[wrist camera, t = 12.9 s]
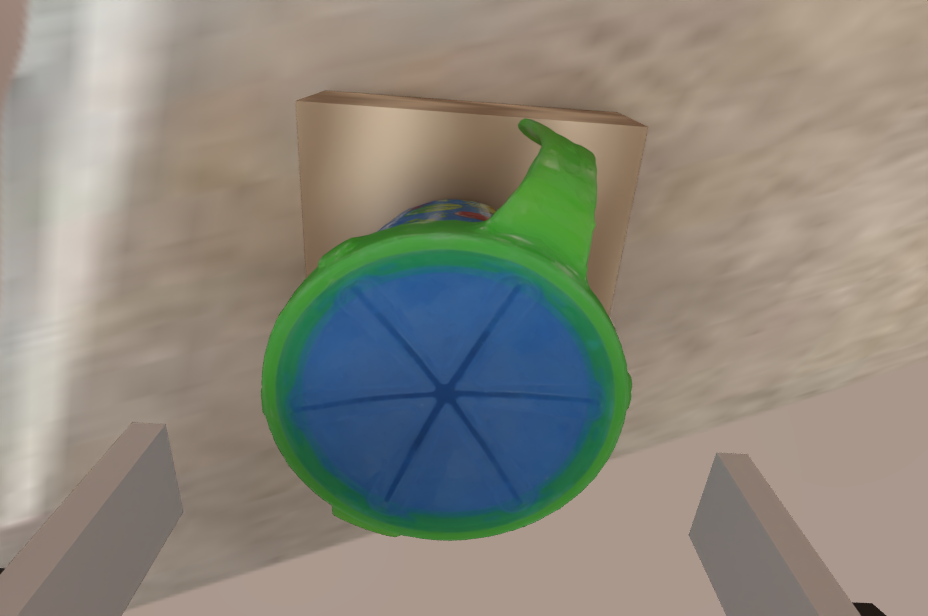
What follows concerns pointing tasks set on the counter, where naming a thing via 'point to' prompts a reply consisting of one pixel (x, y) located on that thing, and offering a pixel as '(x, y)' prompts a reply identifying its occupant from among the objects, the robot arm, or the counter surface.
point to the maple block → (449, 165)
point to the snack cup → (454, 361)
